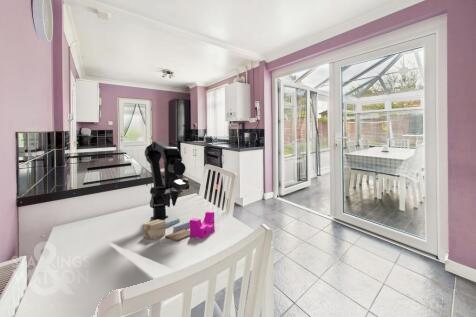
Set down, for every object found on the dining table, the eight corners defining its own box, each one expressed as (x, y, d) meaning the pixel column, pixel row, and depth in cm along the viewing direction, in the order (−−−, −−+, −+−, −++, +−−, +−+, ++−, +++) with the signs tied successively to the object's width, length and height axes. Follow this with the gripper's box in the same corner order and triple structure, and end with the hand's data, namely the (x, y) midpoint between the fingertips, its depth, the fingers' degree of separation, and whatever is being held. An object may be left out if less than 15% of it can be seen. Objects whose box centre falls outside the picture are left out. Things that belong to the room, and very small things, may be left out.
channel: (161, 228, 101) (161, 223, 101) (177, 223, 110) (177, 218, 110) (175, 232, 96) (175, 227, 96) (191, 226, 104) (191, 221, 104)
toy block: (202, 239, 88) (202, 221, 88) (190, 237, 91) (189, 220, 91) (219, 227, 102) (218, 212, 102) (207, 226, 105) (207, 211, 105)
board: (165, 237, 91) (165, 235, 91) (182, 230, 99) (182, 228, 99) (177, 241, 86) (177, 239, 86) (195, 233, 94) (195, 232, 94)
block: (144, 237, 91) (144, 223, 91) (158, 232, 97) (158, 219, 97) (151, 239, 88) (151, 225, 88) (165, 234, 94) (165, 221, 94)
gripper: (165, 176, 88) (165, 213, 88) (197, 172, 103) (197, 204, 103) (149, 175, 94) (149, 209, 94) (181, 172, 109) (181, 201, 110)
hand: (171, 206), depth 100 cm, fingers open, 3 cm apart
